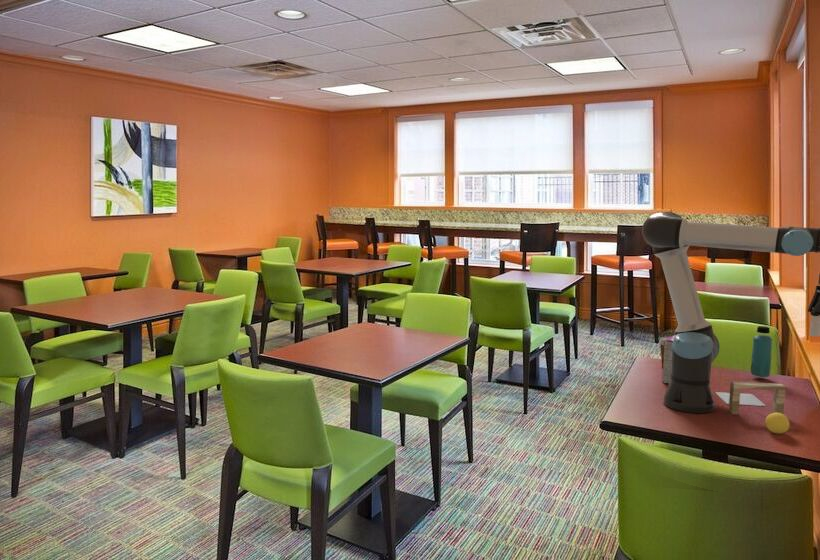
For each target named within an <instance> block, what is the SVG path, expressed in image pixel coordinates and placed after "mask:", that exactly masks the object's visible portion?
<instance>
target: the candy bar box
mask: <svg viewBox="0 0 820 560" xmlns="http://www.w3.org/2000/svg"><path fill="white" fill-rule="evenodd" d="M675 336H676V334H674V335H672V336H669V337H670V338H668V339H666V340H664V361H663V368H662V380H661V381H662V382H661V383H663V382H664V383H663V384H666V383H668V384H667V385H669V383H670V381H671V368H672V352H673V348H672V344H673V341H674V337H675Z"/></svg>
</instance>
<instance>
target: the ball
mask: <svg viewBox="0 0 820 560" xmlns="http://www.w3.org/2000/svg"><path fill="white" fill-rule="evenodd" d="M765 425H766V427H767V429H768V430H769V432H771V433H773V434H777V435H778V434H779V435H780V434H784V433H786V432H787V431H788V430H789V429H790V420H789V419H788V417H787V416H786V415H785V414H781V413H770V414H768V415H767V416H766V418H765Z"/></svg>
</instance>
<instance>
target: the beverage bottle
mask: <svg viewBox="0 0 820 560" xmlns="http://www.w3.org/2000/svg"><path fill="white" fill-rule="evenodd" d="M756 332H757V333H759V334H756V335H755V336H753V338H752V349H751V361H750V363H751V364H750V374H751V375H752V376H754V377H760V378H767V377H770V376H771V375H770V374H771V368H772V367H771V365H772V364H771V363H772V345H773V338H772V337H771V336H769V335H767V334H770V327H769V326H766V325H765V326H763V325H762V326H761V325H759V326H757V328H756Z"/></svg>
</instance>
